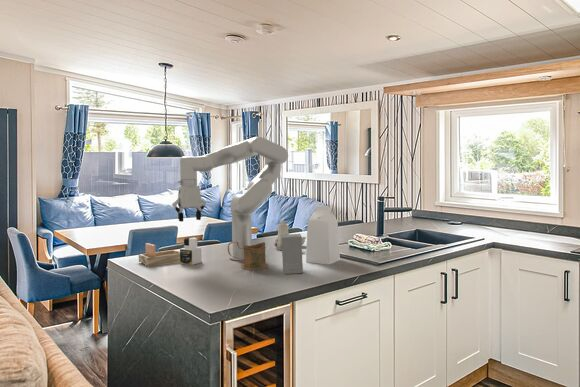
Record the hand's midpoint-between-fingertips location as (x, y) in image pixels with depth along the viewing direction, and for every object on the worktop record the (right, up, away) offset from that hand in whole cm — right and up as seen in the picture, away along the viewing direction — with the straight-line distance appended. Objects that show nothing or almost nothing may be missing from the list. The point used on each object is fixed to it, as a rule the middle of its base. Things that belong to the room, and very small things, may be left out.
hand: (189, 220), depth 208 cm
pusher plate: (-19, -19, +1) cm, 27 cm away
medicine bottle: (0, -20, +1) cm, 20 cm away
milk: (+62, -19, +1) cm, 65 cm away
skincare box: (+48, -21, -22) cm, 57 cm away
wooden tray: (-14, -20, +5) cm, 25 cm away
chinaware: (+46, -18, +36) cm, 61 cm away
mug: (+28, -20, -11) cm, 37 cm away
